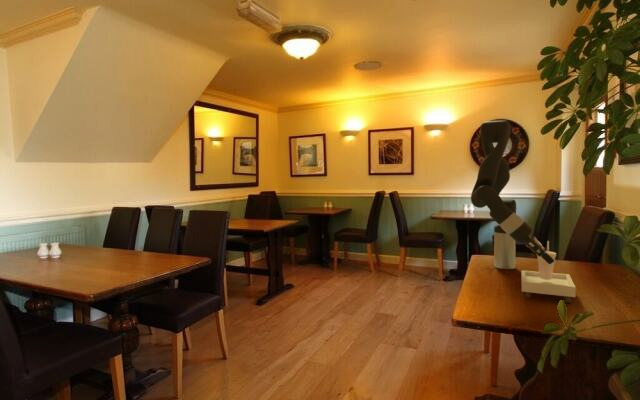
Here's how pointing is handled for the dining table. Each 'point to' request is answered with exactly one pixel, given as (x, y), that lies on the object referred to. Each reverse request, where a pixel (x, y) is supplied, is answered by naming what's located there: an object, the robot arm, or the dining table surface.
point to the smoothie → (546, 265)
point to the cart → (548, 284)
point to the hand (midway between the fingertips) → (551, 260)
